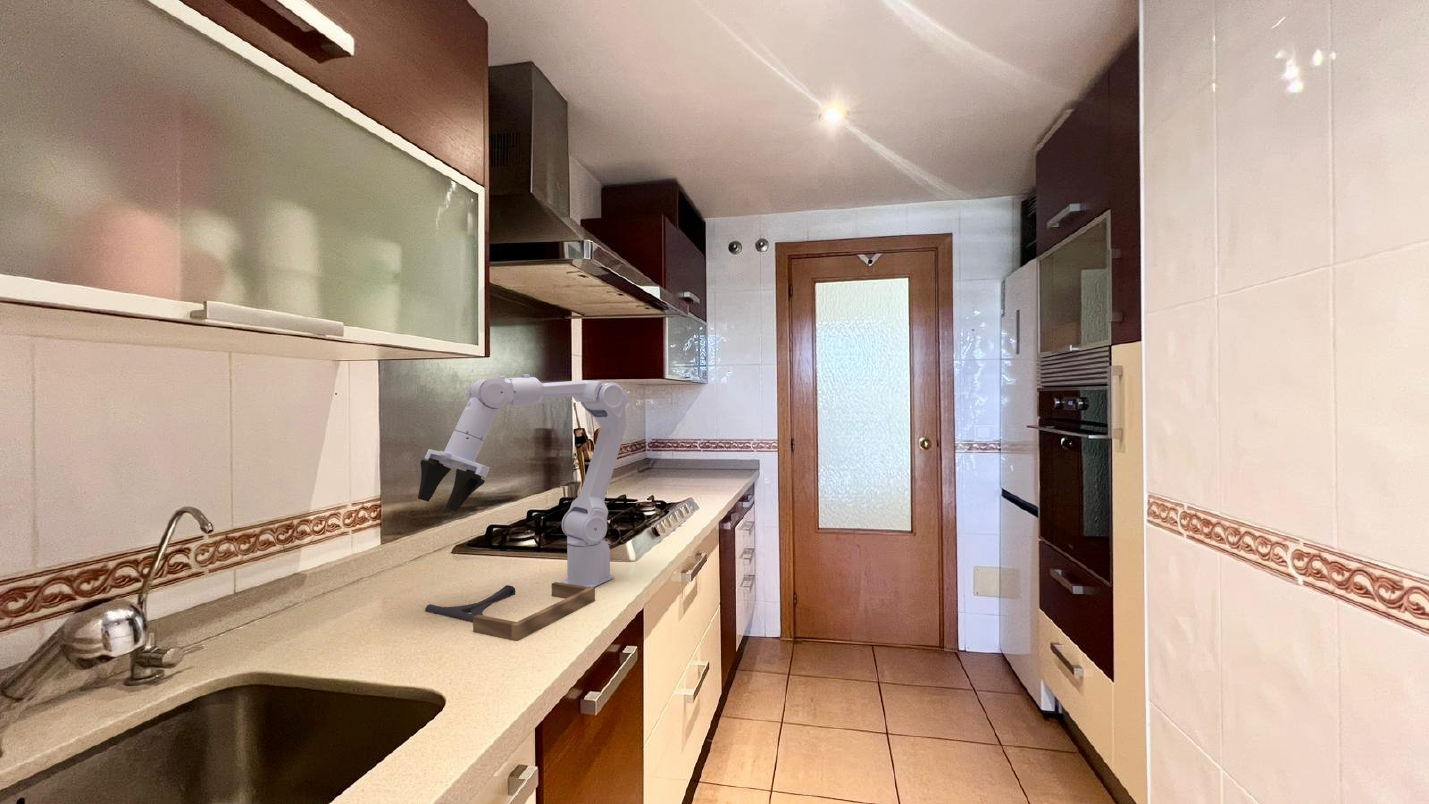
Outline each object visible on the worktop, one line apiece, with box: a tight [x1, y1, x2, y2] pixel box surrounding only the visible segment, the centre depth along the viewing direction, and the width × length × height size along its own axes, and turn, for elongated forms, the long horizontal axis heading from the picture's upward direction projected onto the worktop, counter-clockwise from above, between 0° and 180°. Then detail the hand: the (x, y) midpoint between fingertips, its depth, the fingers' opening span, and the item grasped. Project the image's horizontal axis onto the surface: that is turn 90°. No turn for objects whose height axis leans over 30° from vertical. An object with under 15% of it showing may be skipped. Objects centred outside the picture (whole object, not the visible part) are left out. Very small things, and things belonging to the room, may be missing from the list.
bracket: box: [424, 584, 517, 624], centre depth 112 cm, size 14×15×3 cm
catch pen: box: [472, 581, 596, 642], centre depth 106 cm, size 21×10×2 cm, turn 156°
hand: (436, 505), depth 105 cm, fingers open, 7 cm apart
